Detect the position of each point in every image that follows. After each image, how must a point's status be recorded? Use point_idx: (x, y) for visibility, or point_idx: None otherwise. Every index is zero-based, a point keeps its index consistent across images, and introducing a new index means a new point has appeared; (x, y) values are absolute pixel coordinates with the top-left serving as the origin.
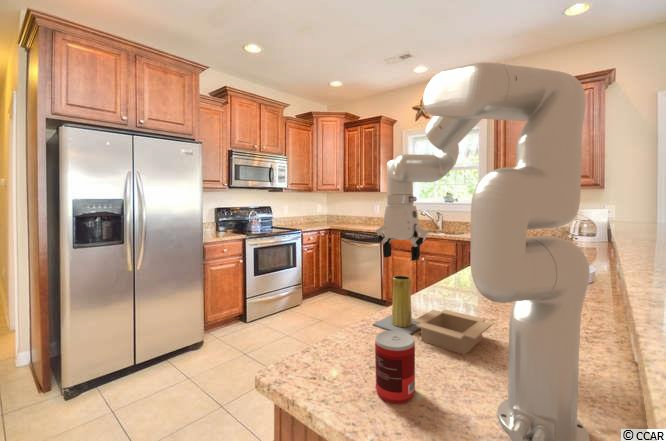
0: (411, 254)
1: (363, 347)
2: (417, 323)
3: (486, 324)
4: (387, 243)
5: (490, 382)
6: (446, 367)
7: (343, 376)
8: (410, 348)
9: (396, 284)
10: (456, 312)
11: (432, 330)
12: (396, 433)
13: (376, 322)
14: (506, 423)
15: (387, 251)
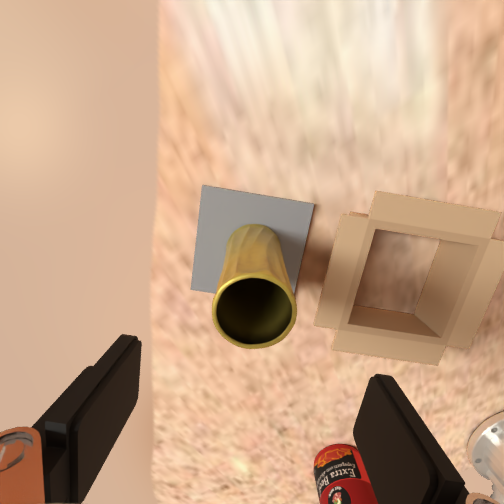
0: (368, 475)
1: (235, 387)
2: (289, 225)
3: (500, 254)
4: (59, 488)
5: (461, 383)
6: (392, 376)
7: (258, 467)
8: None
9: (245, 332)
10: (415, 200)
11: (373, 355)
12: None
13: (193, 277)
14: (479, 471)
15: (117, 417)
